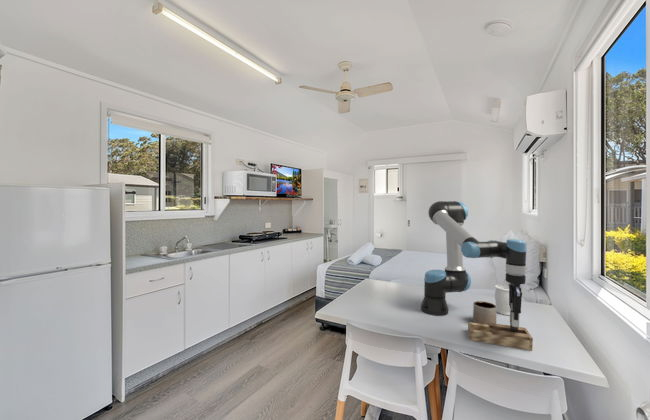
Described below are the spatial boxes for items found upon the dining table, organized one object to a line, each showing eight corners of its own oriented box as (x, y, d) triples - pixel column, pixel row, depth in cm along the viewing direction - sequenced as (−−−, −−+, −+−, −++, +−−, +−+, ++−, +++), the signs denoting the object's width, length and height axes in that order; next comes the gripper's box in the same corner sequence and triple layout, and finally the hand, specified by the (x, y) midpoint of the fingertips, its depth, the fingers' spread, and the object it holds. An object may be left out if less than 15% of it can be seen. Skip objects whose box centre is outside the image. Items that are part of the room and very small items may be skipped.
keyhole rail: (470, 340, 132) (470, 328, 132) (468, 330, 142) (468, 319, 142) (532, 350, 123) (532, 338, 123) (525, 339, 133) (525, 327, 133)
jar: (518, 317, 159) (519, 290, 158) (498, 315, 161) (499, 289, 161) (510, 310, 169) (511, 285, 169) (491, 308, 171) (492, 283, 171)
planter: (496, 328, 144) (496, 310, 144) (472, 323, 150) (472, 305, 149) (496, 321, 153) (496, 303, 153) (473, 316, 159) (474, 299, 159)
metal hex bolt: (508, 340, 128) (509, 305, 128) (506, 335, 133) (507, 301, 133) (521, 342, 127) (522, 306, 126) (518, 337, 131) (519, 303, 131)
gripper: (530, 279, 120) (529, 333, 121) (520, 270, 135) (519, 319, 136) (509, 277, 123) (508, 330, 124) (502, 269, 138) (501, 317, 138)
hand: (514, 324), depth 130 cm, fingers closed on metal hex bolt, 3 cm apart
